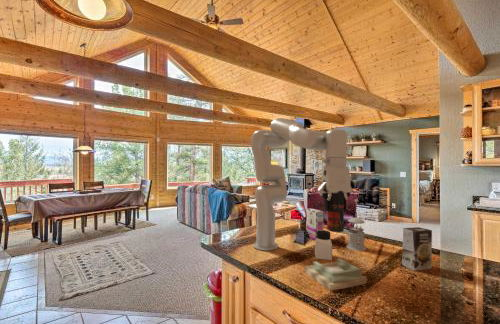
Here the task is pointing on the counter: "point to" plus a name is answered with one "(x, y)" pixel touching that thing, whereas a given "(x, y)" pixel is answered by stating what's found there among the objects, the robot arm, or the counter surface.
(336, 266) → the dock
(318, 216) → the candy bar box
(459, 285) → the counter surface
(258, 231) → the robot arm
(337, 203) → the deodorant
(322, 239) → the medicine bottle
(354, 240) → the french press
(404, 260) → the coffee box
